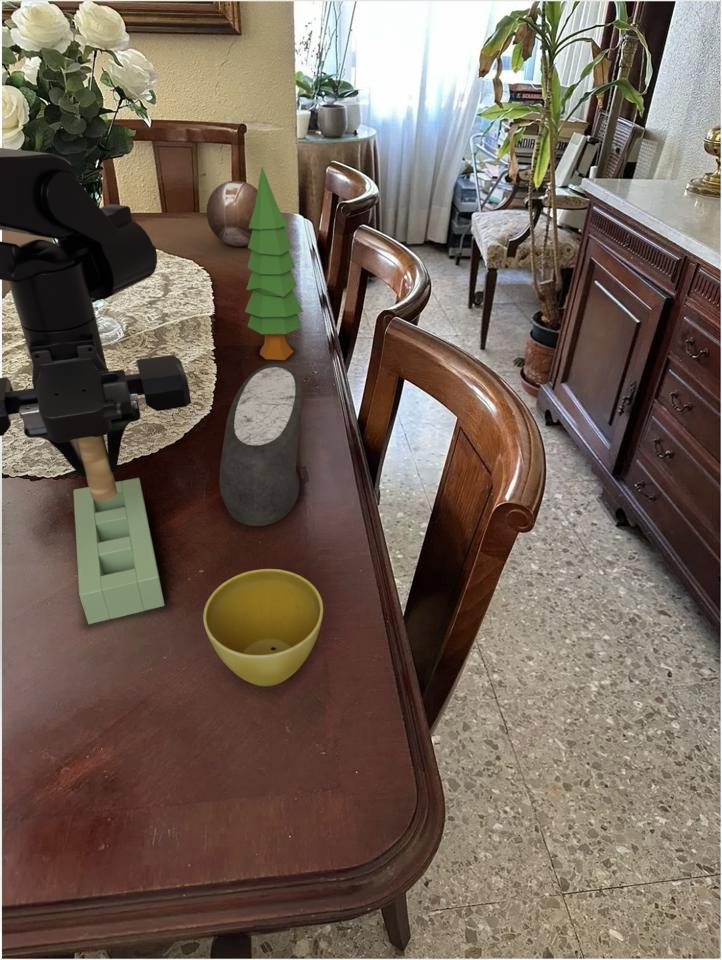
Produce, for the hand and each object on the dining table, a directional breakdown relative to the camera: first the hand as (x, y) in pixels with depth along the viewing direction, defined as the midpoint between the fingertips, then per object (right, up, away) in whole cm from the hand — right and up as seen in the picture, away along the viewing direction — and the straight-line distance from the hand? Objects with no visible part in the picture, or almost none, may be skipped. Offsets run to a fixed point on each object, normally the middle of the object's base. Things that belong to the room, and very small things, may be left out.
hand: (98, 473), depth 63 cm
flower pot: (+17, -18, -3) cm, 25 cm away
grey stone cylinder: (+13, +1, +23) cm, 26 cm away
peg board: (-1, -9, +8) cm, 12 cm away
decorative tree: (+10, +22, +52) cm, 57 cm away
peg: (0, -2, +1) cm, 2 cm away
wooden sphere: (-5, +58, +103) cm, 118 cm away
